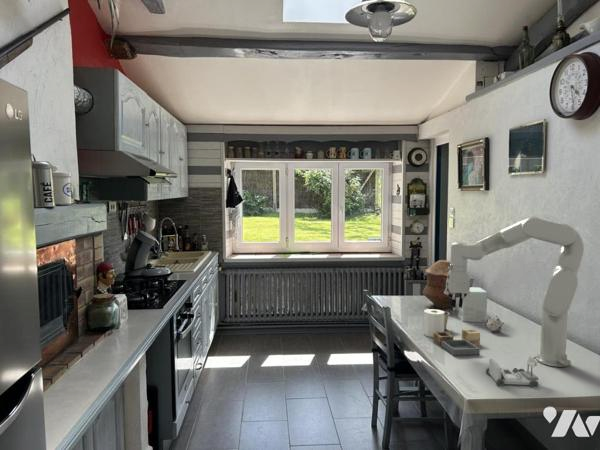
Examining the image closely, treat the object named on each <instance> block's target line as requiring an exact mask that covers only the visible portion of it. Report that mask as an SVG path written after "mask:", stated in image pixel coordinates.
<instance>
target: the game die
mask: <svg viewBox="0 0 600 450" xmlns="http://www.w3.org/2000/svg"><path fill="white" fill-rule="evenodd" d="M487 316H488V315H487ZM503 324H504V322H502V321H501V320H500V318H499V317H497V315H495V317H493V316H492V317H491V316H488V319H487V321H486V324H484V326H486V327H487V328H488V329H489V331H491V333H494V332H501V329H502V328H501V327H502V326H503Z"/></svg>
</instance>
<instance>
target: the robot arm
mask: <svg viewBox="0 0 600 450" xmlns="http://www.w3.org/2000/svg"><path fill="white" fill-rule="evenodd" d="M531 239H535V240H539V241H543V242H545V243H546V242H547V243H549V244H553V245H559V252H558V255H557V259H556V263H555V264H554V267H553V269H552V271H551V274H550V282H549V284H548V287H547V289H546V291H545V292H544V293H543V295H542V298H541V299H542V300H541V303H542V304H541V330H540V331H541V332H540V351H539V354H537V355H536V356H535V357H536V358H535V361H536V362H537V363H540V364H543V365H545V366H550V367H557V368H565V367H568V366H570V364H571V363H572V362H571V360H569V359H568V355H567V337H568V336H567V333H568V331H567V330H568V316H569V315H568V312H569V310H570V308H571V306H572V302H573V300H574V297H575V293H576V292H577V288H578V284H579V279H578V272H579V269H580V266H581V263H582V259H583V256H584V249H585V248H584V242H583V239H582V237H581V235H580V234H579V232H578V231H577V230H576V229H575V228H573V227H572V226H571V225H570V224H567V223H557V222H553V221H549V220H544V219H541V218H539V217H538V216H529V217H527V218H525V219H523V220H521V221H518V222H516V223H514V224H512V225H509V226H506V227H505V228H503V229H500V230H499V231H497V232H495V233H493V234H492V235H490V236H487V237H485V238H483V239H480V240H479V241H476V242H475V243H472V244H468V243H467V242H461V241H460V242H459V241H455V242H452V243H451V246H450V260H449V261H450V266H448V269H450V271H449V272H448V275H447V281H446V289H445V291H444V293H445V294H447V295H448V296H449V297H450V298H451V299H450V305H451V307H452V309H453V308H455V304H456V300H455V293H460V308H462V305H463V299H464V297H465V296H466V295H468V294H470V285H471V281H470V275H469V274H470V273H469V271H468V260H471V261H481V260H482V259H483V258H484V257H486V256H488V255H490V254H492V253H495V252H497V251H500V250H503V249H508V248H512V247H515V246H517V245H519V244H521V243H523V242H526V241H528V240H531ZM448 291H449V292H450V293H449V292H448ZM451 307H450V308H451Z"/></svg>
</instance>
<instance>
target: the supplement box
mask: <svg viewBox="0 0 600 450" xmlns="http://www.w3.org/2000/svg"><path fill="white" fill-rule="evenodd" d="M487 306H488V292H487V291H486V290H484V289H483V288H482V287H474V286H472V287H470V294H468V295H466V296H465V297H464V299H463V305H462V308H460V307H459V314H456V316H458V318H459V319H460V320H461V321H462V322H469V323H471V322H472V323H474V322H475V323H487V316H488V315H487V310H488V309H487V308H488V307H487Z"/></svg>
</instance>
